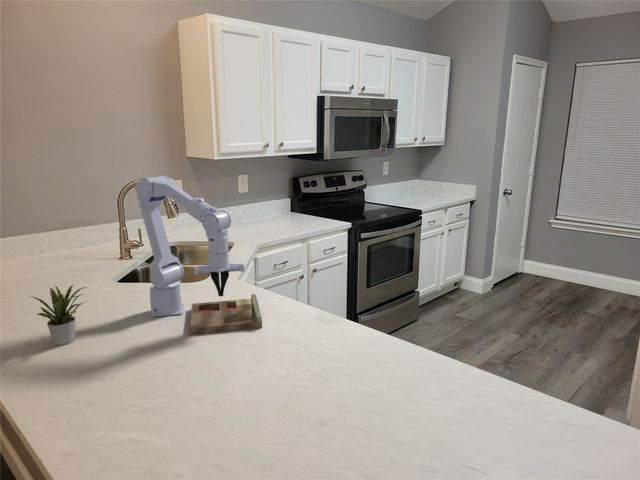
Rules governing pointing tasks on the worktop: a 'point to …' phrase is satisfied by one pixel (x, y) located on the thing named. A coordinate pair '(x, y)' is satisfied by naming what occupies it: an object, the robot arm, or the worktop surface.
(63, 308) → the house plant
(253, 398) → the worktop surface
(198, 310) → the trap deck
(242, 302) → the maple block
